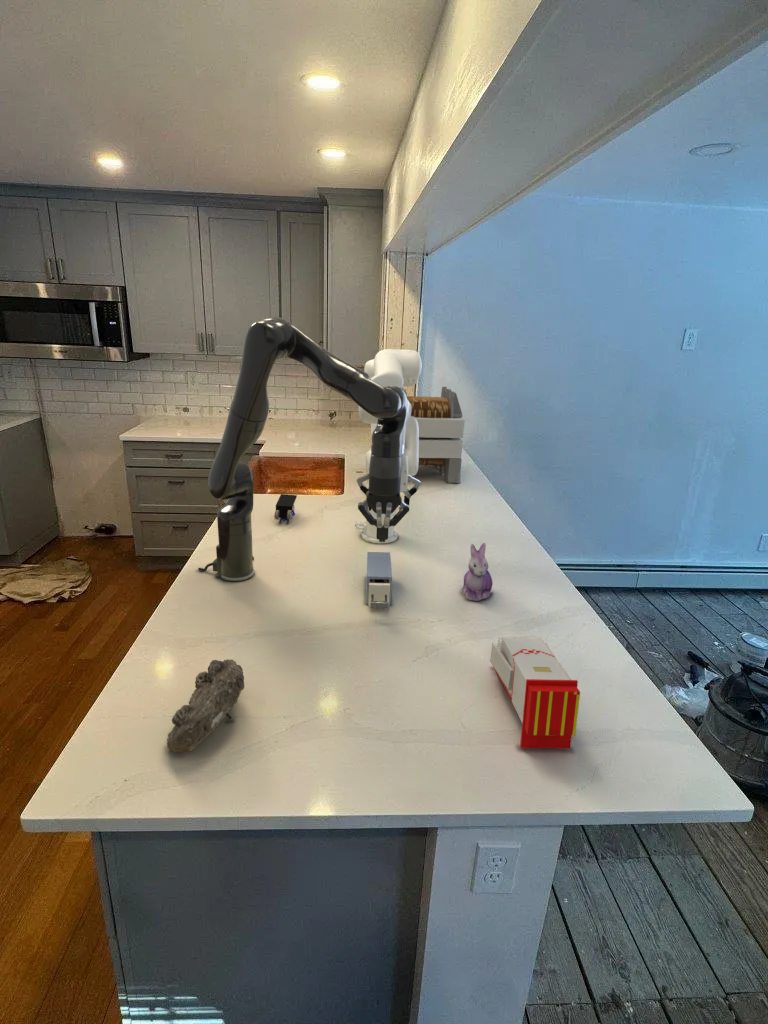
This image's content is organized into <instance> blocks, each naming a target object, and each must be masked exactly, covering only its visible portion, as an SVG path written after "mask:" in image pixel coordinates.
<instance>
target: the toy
mask: <svg viewBox="0 0 768 1024" xmlns="http://www.w3.org/2000/svg"><path fill="white" fill-rule="evenodd" d="M489 658H490V659H489V662H490V663H491V665H492V666H493V669H494V671H495V673H496V675H497V677H498V679H499V680H500V682H501V684H502V686H503V687H504V689H505V691H506V693H507V695H508V697H509V699H510V700H511V703H512V705H513V707H514V709H515V712H516V713H517V716H518V718H519V720H520V722H521V735H520V748H521V749H571V746H572V745H571V744H572V737H574V736H575V737H576V733H577V732H576V731H577V723H578V715H579V705H580V697H581V691H580V688H578V683H579V681H578V680H577V679H572V678H571V677H570V675H569V674H568V673H567V671H566V670H565V668H564V667H563V665H562V664H561V662H560V661H559V660H558V659H557V657H556V656H555V654H554V652H553V651H552V650H551V648H550V647H549V645H548V643H547V642H545V640H544V639H543V637H540V636H539V637H536V636H535V637H534V636H526V637H525V636H501V638H500V637H498V638H497V643H496V642H492V643H491V649H490V657H489Z"/></svg>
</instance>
